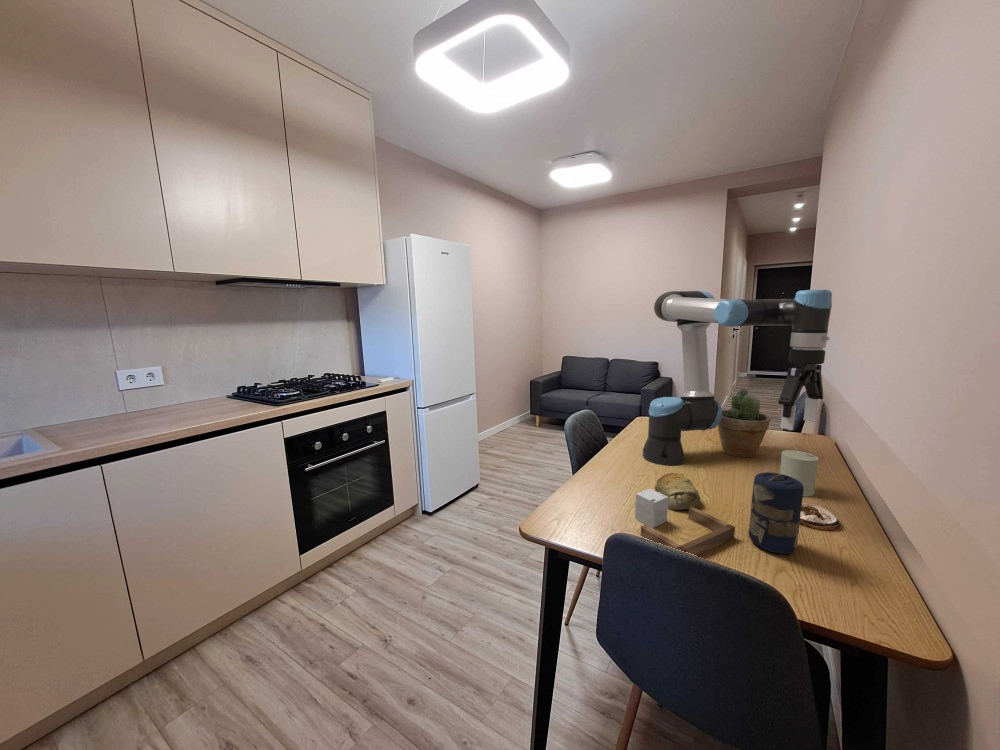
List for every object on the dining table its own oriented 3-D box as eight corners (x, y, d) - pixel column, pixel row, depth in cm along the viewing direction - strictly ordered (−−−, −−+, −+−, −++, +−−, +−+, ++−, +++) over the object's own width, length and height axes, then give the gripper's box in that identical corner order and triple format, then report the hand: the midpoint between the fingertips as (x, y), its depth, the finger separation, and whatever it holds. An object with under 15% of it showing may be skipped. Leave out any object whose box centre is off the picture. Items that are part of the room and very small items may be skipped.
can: (821, 497, 114) (826, 460, 112) (787, 495, 116) (791, 458, 114) (803, 484, 123) (808, 449, 121) (772, 482, 125) (775, 447, 123)
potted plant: (778, 460, 143) (785, 396, 139) (728, 461, 143) (734, 396, 139) (747, 444, 161) (752, 387, 157) (703, 444, 161) (707, 387, 157)
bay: (640, 537, 95) (640, 526, 94) (691, 517, 104) (692, 506, 104) (681, 563, 85) (681, 551, 84) (734, 538, 94) (735, 526, 94)
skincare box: (648, 512, 107) (649, 487, 106) (667, 521, 102) (669, 496, 101) (634, 518, 104) (635, 493, 103) (653, 528, 99) (654, 502, 98)
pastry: (664, 486, 123) (665, 463, 122) (706, 499, 114) (708, 474, 113) (645, 502, 113) (646, 476, 112) (689, 517, 104) (691, 489, 103)
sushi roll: (836, 513, 106) (838, 499, 105) (851, 541, 93) (853, 525, 92) (772, 501, 113) (773, 488, 112) (777, 525, 100) (779, 510, 100)
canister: (738, 534, 95) (744, 467, 93) (773, 532, 96) (781, 465, 93) (768, 558, 86) (776, 484, 83) (807, 556, 87) (816, 482, 84)
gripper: (802, 352, 92) (792, 436, 95) (844, 346, 104) (834, 421, 108) (768, 350, 98) (760, 428, 102) (811, 345, 111) (803, 415, 114)
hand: (798, 424), depth 105 cm, fingers open, 13 cm apart
